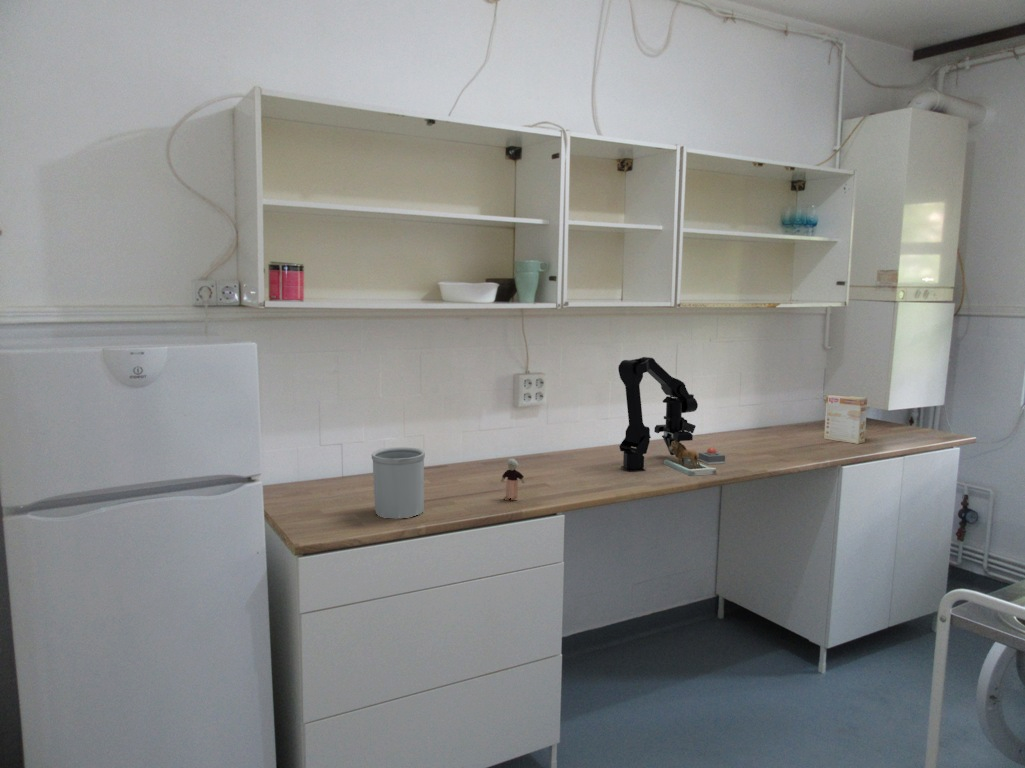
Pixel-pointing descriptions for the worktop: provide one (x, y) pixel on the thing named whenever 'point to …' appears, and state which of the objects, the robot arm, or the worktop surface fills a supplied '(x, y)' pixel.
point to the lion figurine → (684, 454)
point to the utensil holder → (398, 482)
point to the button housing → (711, 458)
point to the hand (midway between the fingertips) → (672, 455)
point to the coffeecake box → (845, 418)
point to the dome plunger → (711, 451)
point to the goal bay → (691, 472)
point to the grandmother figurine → (512, 480)
